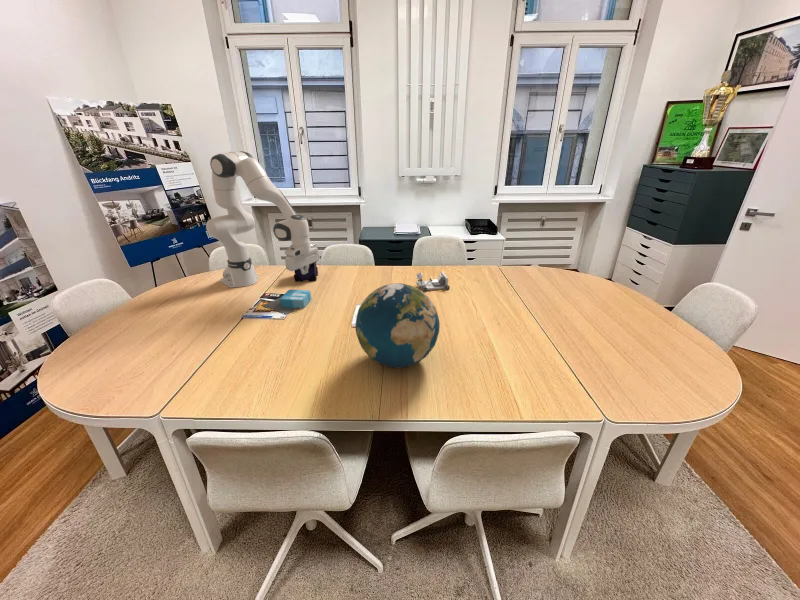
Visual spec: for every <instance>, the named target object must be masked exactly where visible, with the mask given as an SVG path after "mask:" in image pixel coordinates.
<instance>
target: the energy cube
mask: <svg viewBox="0 0 800 600" xmlns="http://www.w3.org/2000/svg"><path fill="white" fill-rule="evenodd" d="M317 262H318V261H316V262H314V263H311V264H309V268H308V273H306V274H304V275H303V274H302V272H301V270H300V269H296V270H294V271H293V272H294V274H293V277H294V278H293V279H294V282H295V283H303V282H304V281H308V282H317V279H318V275H319V270H318V266H317ZM303 269H305V266H304V268H303Z"/></svg>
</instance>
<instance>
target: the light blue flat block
mask: <svg viewBox="0 0 800 600" xmlns="http://www.w3.org/2000/svg"><path fill="white" fill-rule="evenodd" d="M279 298H280V301H281V306H282V307H284V308H298V309H304V308H305V307H307V305H308V304H309V303H310V302H311V300H312V294H311V290H309V289H288V290H286V292H284V294H283V295H282V296H280V297H279Z"/></svg>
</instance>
